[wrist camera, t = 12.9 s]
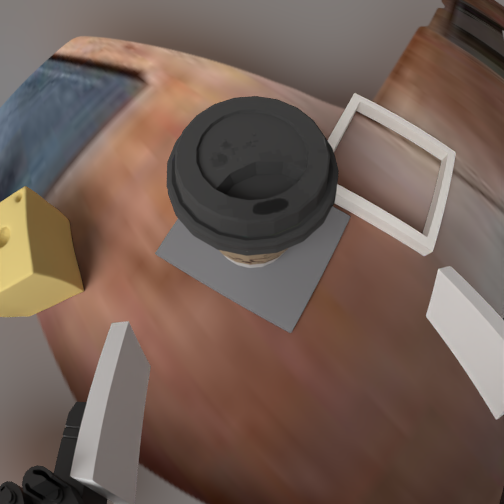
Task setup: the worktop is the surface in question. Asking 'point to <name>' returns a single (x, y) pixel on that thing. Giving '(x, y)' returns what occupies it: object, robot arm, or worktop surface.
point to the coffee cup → (252, 178)
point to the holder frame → (372, 212)
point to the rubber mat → (260, 270)
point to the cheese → (35, 256)
